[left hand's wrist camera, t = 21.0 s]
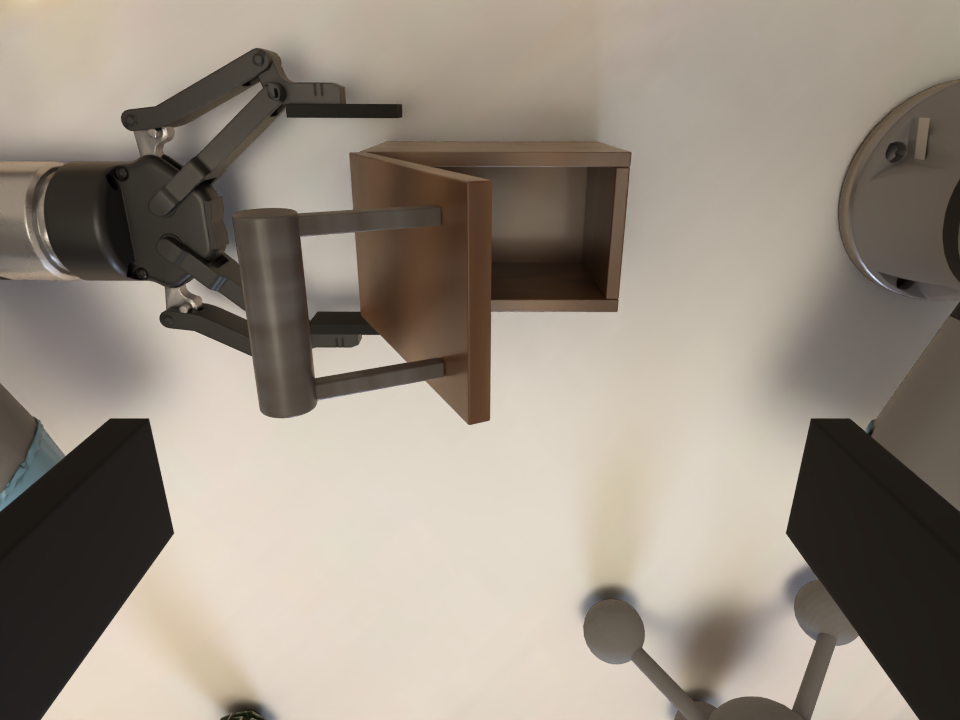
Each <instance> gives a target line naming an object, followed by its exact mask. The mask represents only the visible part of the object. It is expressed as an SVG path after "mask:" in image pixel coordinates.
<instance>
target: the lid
mask: <svg viewBox="0 0 960 720" xmlns="http://www.w3.org/2000/svg"><path fill="white" fill-rule="evenodd" d="M349 155H350V169H351V183H352V197H353V210H345V211H330V212H314V213H299V214H298V213H297V212H296V211H295V210H291V209H283V208H263V209H251V210H244V211H239V212H236V213H234V214H233V216H232V218H233V225H234V232H235V239H236V246H237V253H238V260H239V267H240V274H241V281H242V288H243V295H244V302H245V309H246V316H247V323H248V330H249V337H250V344H251V351H252V358H253V365H254V372H255V379H256V386H257V393H258V400H259V407H260V411H261V412H262V413H263V414H264V415H266V416H269V417H273V418H290V417H296V416H300V415H303V414H305V413H308V412H310V411H311V410H313V409H314V408H315V407H316V405H317V400H323V399H328V398H333V397H339V396H344V395H350V394H355V393H361V392H366V391H371V390H377V389H382V388H388V387H393V386H399V385H404V384H409V383H415V382H420V381H426V382H427V383H428V384H429V385H430V386H431V387H432V388H433V389H434V390H435V391H436V392H437V393H438V394H439V395H440V396H441V397H442V398H443V399H444V400H445V401H446V402H447V403H448V404H449V405H450V406H451V407H452V408H453V409H454V411H455V412H456V413H457V414H458V415H459V416H460V417H461V418H462V419H463V420H464V421H465V422H466V423H467V424H468V425H472V424H476V423H481V422H486V421H489V420H490V364H491V246H492V181H491V180H488V179H483V178H479V177H474V176H470V175H465V174H461V173H456V172H452V171H447V170H443V169H439V168H434V167H430V166H425V165H421V164H416V163H412V162H407V161H403V160H398V159H394V158H389V157H385V156H380V155H376V154H371V153H367V152H354V153H350V154H349ZM351 232H355V239H356V252H357V266H358V280H359V294H360V308H361V316H362V317H363V318H364V319H365V320H366V321H367V322H368V323H369V324H370V325H371V326H372V327H373V328H374V329H375V330H376V331H377V332H378V333H379V334H380V335H381V336H382V337H383V338H384V339H385V340H386V341H387V342H388V343H389V344H390V345H391V346H392V347H393V348H394V349H395V350H396V351H397V352H398V353H399V354H400V355H401V357H402V358H403V359H404V360H405V361H406V362H407V363H402V364H396V365H391V366H385V367H379V368H373V369H367V370H361V371H355V372H349V373H344V374H338V375H332V376H326V377H320V378H315V374H314V365H313V355H312V346H311V336H310V327H309V317H308V307H307V298H306V288H305V279H304V269H303V260H302V250H301V241H300V237H301V236H314V235H326V234H339V233H351Z"/></svg>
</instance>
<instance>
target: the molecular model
mask: <svg viewBox="0 0 960 720" xmlns="http://www.w3.org/2000/svg"><path fill="white" fill-rule="evenodd" d="M794 611H795V616H796V619H797V621H798V623H799V625H800V627H801V628H802V629H803V630H804V632H805V633H806V634H807V635H809V636H810V637H811V638H812V639H814V640H816V643H815V646H814V649H813V652H812V655H811V658H810V660H809V663H808V666H807V669H806V672H805V675H804V677H803V680H802V683H801V686H800V689H799V692H798V694H797V697H796V700H795V703H794V706H793V709H792V710H791V709H789V708H788V707H786V706H785V705H783V704H780V703H778V702H775V701H773V700H770V699H767V698H762V697H740V698H735V699H733V700H730V701H728V702H726V703H724V704H722V705H721V706H720V707H718V708H715V707H714V706H712V705H710V704H708V703H705V702H699V701H696V702H694V701H693V700H692V699H691V698H690V697H689V696H688V695H687V694H686V693H685V692H684V691H683V690H682V689H681V688H680V687H679V686H678V685H677V684H676V683H675V682H674V681H673V680H672V678H671V677H670V676H669V675H668V674H667V673H666V672H665V671H664V670H663V669H662V668H661V667H660V666H659V665H658V664H657V663H656V662H655V661H654V660H653V659H652V658H651V657H650V656H649V655H648V654H647V653H646V652H645V651H644V650H643V649H642V646H643V643H644V638H645V630H644V625H643V622H642V620H641V618H640V616H639V614H638V613H637V612H636V610H635V609H634V608H633V607H632V606H630V605H629V604H627V603H626V602H623V601H621V600H616V599H606V600H603V601H600V602H598V603H597V604H595V605H594V606H593V607H592V608H591V609H590V610H589V611H588V613H587V615H586V617H585V621H584V626H583V628H584V637H585V640H586V643H587V645H588V647H589V649H590V650H591V652H592V653H593V654H594V655H595V656H596V657H597V658H599V659H600V660H602V661H604V662H607V663H610V664H623V663H626V662H629V661H631V660H632V661H633V662H634V663H635V664H636V665H637V667H638V668H639V669H640V670H641V671H642V672H643V673H644V674H645V675H646V676H647V677H648V678H649V679H650V680H651V681H652V682H653V684H654V685H655V686H656V687H657V688H658V689H659V690H660V691H661V692H662V693H663V694H664V695H665V696H666V697H667V698H668V699H669V700H670V702H671V703H672V704H673V705H674V706H675V707H676V708H677V709H678V710H679V711H678V712H677V714H676V716H675V719H674V720H811V717H812V714H813V711H814V708H815V705H816V702H817V699H818V696H819V693H820V690H821V687H822V684H823V681H824V678H825V675H826V672H827V669H828V666H829V663H830V660H831V657H832V654H833V651H834V648H835V646H840V645H845V644H848V643H850V642H852V641H853V640H854V639H856V638H857V637H858V636H859V635H858V633H857V632H856V630H855V629H854V628H853V626H852V625H851V624H850V622H849V621H848V619H847V618H846V617H845V615H844V614H843V612H842V611H841V610H840V608H839V607H838V605H837V604H836V603H835V601H834V600H833V598H832V597H831V596H830V594H829V593H828V591H827V590H826V589H825V587H824V586H823V584H822V583H821V582H820V580H816V581H812V582H809V583H808V584H806V585H804V586H803V587H802V588H801V589H800V590H799V592H798V594H797V596H796V598H795V603H794Z"/></svg>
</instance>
